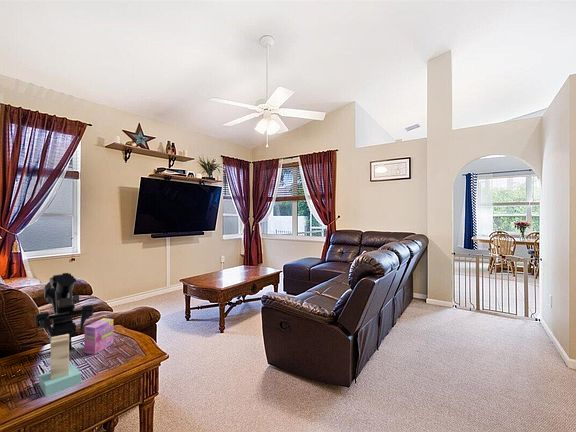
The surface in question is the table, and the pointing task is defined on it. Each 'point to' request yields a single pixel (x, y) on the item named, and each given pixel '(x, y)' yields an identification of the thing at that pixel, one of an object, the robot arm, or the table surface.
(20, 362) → the table surface
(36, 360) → the table surface
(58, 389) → the base block
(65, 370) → the pillar
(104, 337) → the box
